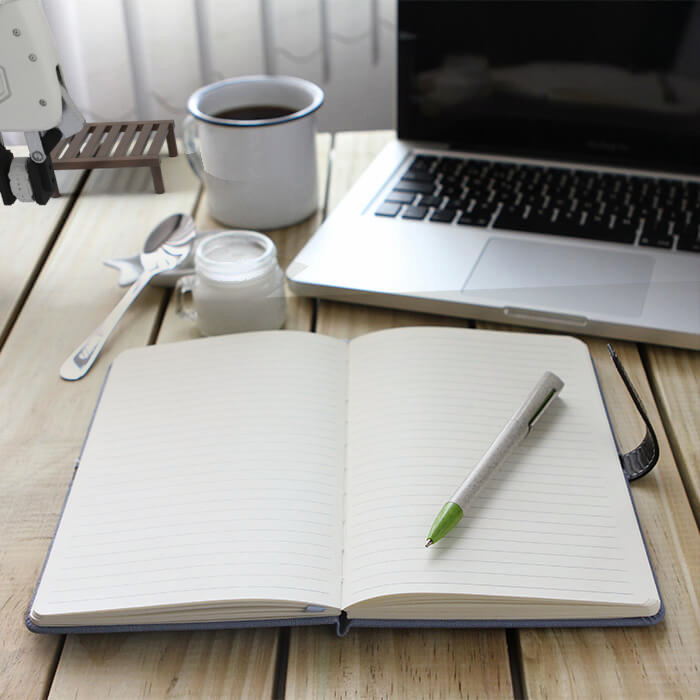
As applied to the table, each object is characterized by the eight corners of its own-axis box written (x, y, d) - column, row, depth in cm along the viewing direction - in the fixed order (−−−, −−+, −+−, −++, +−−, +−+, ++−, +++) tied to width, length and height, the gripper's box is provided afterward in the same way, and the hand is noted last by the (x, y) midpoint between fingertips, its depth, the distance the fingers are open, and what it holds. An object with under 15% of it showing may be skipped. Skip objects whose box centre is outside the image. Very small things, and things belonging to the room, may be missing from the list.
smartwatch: (37, 209, 69) (26, 166, 67) (12, 209, 69) (0, 166, 66) (47, 191, 72) (37, 149, 70) (23, 192, 72) (12, 150, 69)
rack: (47, 198, 94) (37, 163, 91) (73, 156, 103) (64, 123, 100) (164, 194, 94) (158, 158, 91) (179, 152, 103) (174, 119, 100)
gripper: (-161, -12, 56) (-78, 219, 67) (64, -12, 57) (110, 217, 68) (-114, -34, 62) (-45, 181, 73) (89, -35, 63) (128, 180, 74)
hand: (29, 197), depth 70 cm, fingers closed on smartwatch, 2 cm apart
